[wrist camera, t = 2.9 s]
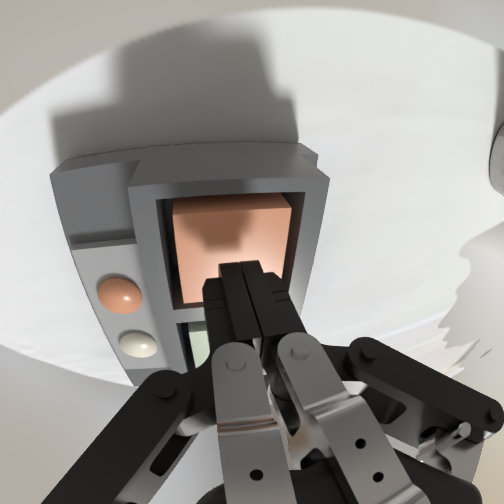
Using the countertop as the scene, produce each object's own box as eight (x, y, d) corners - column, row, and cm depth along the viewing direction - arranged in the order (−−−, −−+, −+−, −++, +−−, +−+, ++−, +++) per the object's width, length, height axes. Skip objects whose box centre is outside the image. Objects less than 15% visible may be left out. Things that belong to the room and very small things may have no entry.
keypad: (300, 143, 16) (352, 178, 11) (269, 351, 28) (286, 401, 23) (66, 159, 13) (18, 205, 8) (134, 365, 25) (134, 418, 20)
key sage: (265, 296, 16) (274, 321, 15) (259, 342, 19) (266, 365, 18) (186, 305, 16) (188, 332, 14) (194, 350, 18) (197, 374, 17)
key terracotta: (277, 188, 13) (291, 207, 11) (268, 267, 15) (279, 292, 14) (174, 193, 12) (172, 215, 10) (182, 275, 14) (184, 303, 13)
